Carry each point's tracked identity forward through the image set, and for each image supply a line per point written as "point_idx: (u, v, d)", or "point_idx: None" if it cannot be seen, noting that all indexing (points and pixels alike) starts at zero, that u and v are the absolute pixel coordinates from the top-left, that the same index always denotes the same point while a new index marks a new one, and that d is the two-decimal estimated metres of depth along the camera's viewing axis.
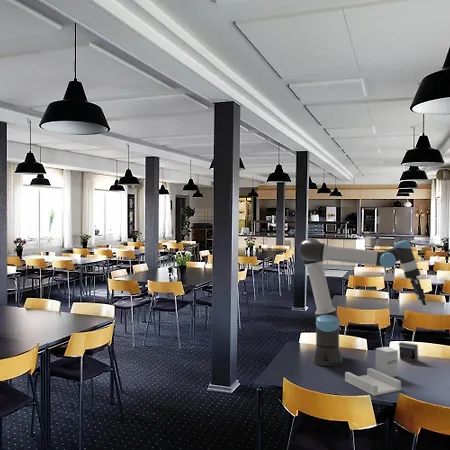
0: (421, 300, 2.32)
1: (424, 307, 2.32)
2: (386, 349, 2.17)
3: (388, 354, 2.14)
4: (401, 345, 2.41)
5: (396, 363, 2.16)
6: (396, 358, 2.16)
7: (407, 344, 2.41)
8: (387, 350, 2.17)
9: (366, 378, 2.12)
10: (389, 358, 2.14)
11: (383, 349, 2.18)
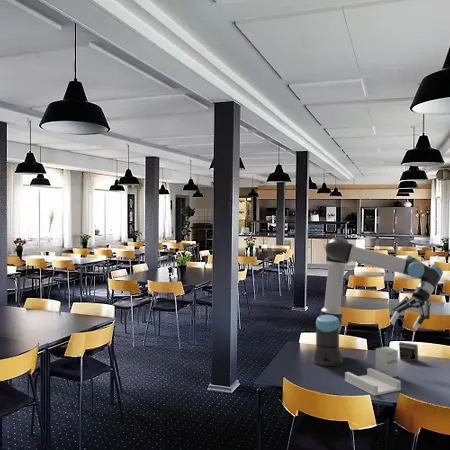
0: (420, 318, 2.19)
1: (416, 324, 2.18)
2: (386, 349, 2.17)
3: (388, 354, 2.14)
4: (401, 345, 2.41)
5: (396, 363, 2.16)
6: (396, 358, 2.16)
7: (407, 344, 2.41)
8: (387, 350, 2.17)
9: (366, 378, 2.12)
10: (389, 358, 2.14)
11: (383, 349, 2.18)
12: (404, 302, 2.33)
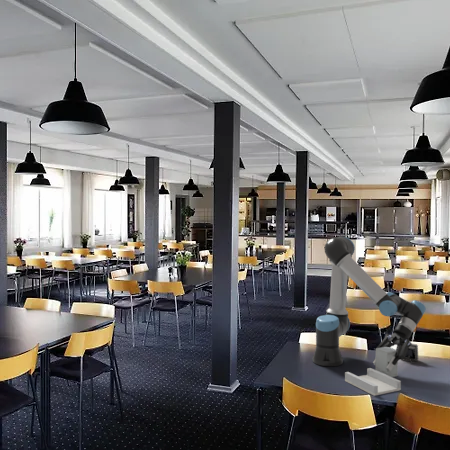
0: (394, 358, 2.15)
1: (390, 364, 2.13)
2: (386, 349, 2.17)
3: (388, 354, 2.14)
4: None
5: (396, 363, 2.16)
6: None
7: None
8: (387, 349, 2.17)
9: (366, 378, 2.12)
10: (389, 358, 2.14)
11: (383, 349, 2.18)
12: (386, 340, 2.26)
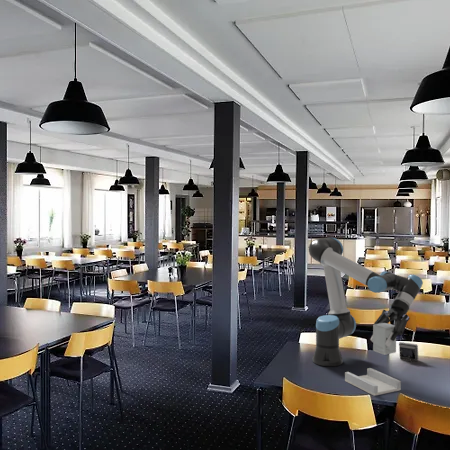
0: (392, 334, 2.07)
1: (389, 340, 2.06)
2: (384, 325, 2.09)
3: (386, 330, 2.06)
4: (401, 345, 2.41)
5: None
6: None
7: (407, 344, 2.41)
8: (385, 325, 2.09)
9: (366, 378, 2.12)
10: (387, 334, 2.07)
11: (381, 325, 2.10)
12: (383, 316, 2.18)
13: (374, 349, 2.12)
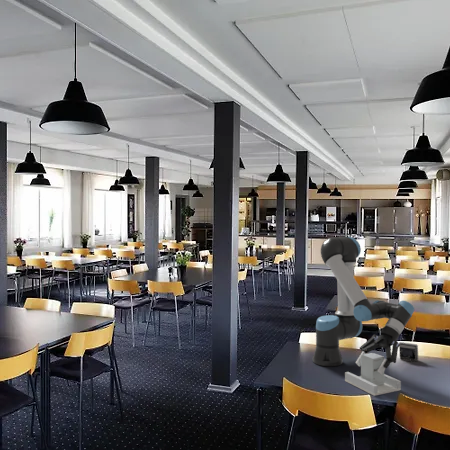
0: (386, 361, 2.00)
1: (382, 368, 1.99)
2: (372, 356, 2.04)
3: (374, 361, 2.01)
4: (401, 345, 2.41)
5: None
6: None
7: (407, 344, 2.41)
8: (373, 356, 2.04)
9: None
10: (375, 365, 2.01)
11: (369, 355, 2.05)
12: (372, 341, 2.14)
13: None
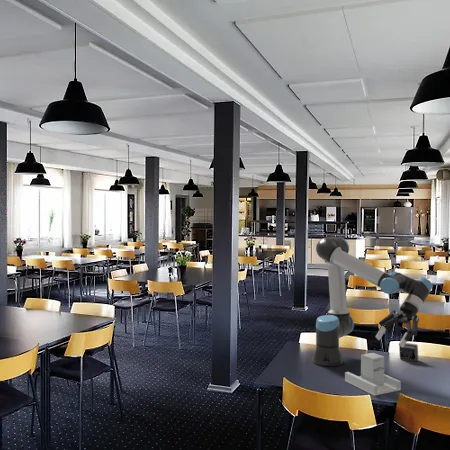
0: (407, 334, 2.06)
1: (403, 340, 2.05)
2: (372, 356, 2.04)
3: (374, 361, 2.01)
4: None
5: (383, 370, 2.03)
6: (383, 365, 2.03)
7: (407, 344, 2.41)
8: (373, 356, 2.04)
9: None
10: (375, 365, 2.01)
11: (369, 355, 2.05)
12: (391, 316, 2.20)
13: None
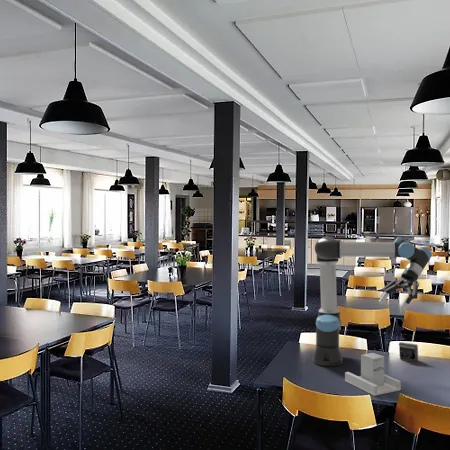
0: (408, 297, 2.22)
1: (404, 303, 2.21)
2: (372, 356, 2.04)
3: (374, 361, 2.01)
4: (401, 345, 2.41)
5: (383, 370, 2.03)
6: (383, 365, 2.03)
7: (407, 344, 2.41)
8: (373, 356, 2.04)
9: None
10: (375, 365, 2.01)
11: (369, 355, 2.05)
12: (393, 283, 2.36)
13: None
